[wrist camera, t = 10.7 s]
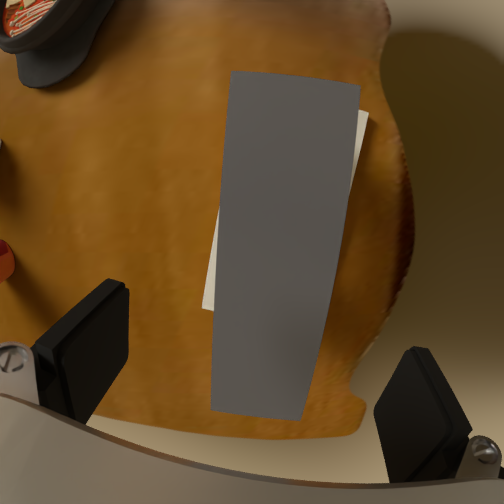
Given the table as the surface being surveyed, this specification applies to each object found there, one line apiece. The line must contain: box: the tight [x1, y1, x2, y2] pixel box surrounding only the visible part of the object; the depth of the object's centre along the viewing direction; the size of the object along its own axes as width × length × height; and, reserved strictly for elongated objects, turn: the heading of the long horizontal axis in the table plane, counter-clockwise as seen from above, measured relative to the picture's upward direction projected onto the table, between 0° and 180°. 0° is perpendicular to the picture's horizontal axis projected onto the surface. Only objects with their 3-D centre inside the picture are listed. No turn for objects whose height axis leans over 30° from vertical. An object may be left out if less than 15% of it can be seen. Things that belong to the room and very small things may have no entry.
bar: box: [211, 71, 360, 421], centre depth 20 cm, size 20×6×7 cm, turn 175°
